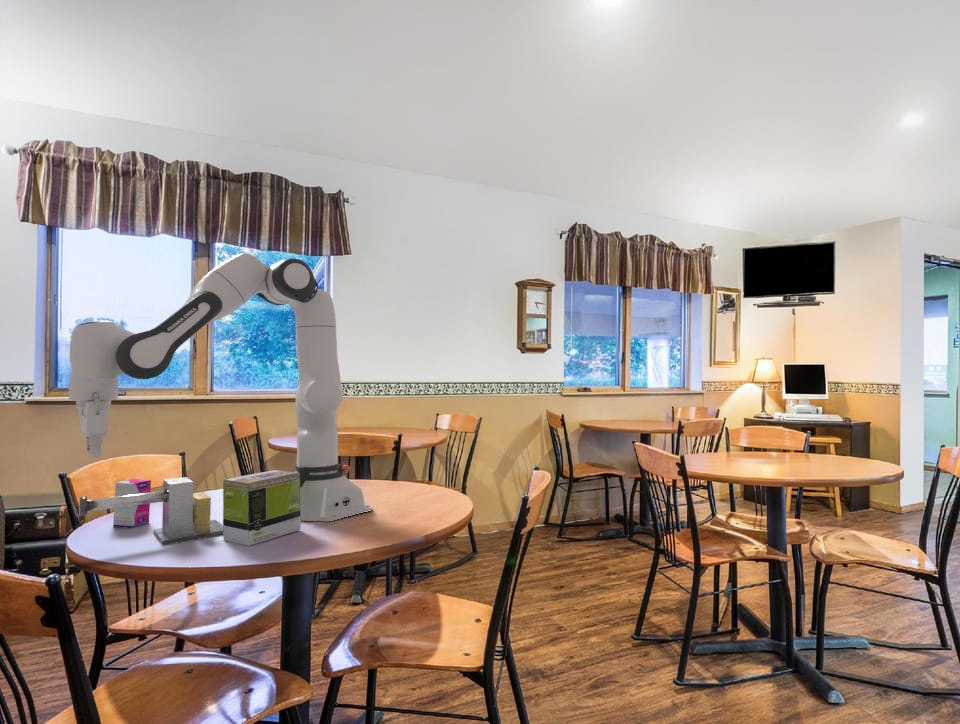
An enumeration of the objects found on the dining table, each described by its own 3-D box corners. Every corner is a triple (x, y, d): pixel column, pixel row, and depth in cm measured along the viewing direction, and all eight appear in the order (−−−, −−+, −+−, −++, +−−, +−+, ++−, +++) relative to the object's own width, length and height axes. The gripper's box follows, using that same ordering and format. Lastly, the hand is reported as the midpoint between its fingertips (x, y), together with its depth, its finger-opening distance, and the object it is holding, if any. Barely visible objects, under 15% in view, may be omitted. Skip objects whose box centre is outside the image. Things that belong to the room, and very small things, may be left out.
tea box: (275, 525, 136) (276, 468, 136) (301, 531, 131) (302, 472, 131) (221, 540, 123) (222, 477, 123) (247, 547, 118) (249, 481, 118)
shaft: (176, 501, 128) (177, 484, 128) (180, 504, 125) (180, 487, 125) (78, 514, 116) (79, 495, 116) (79, 517, 113) (80, 499, 113)
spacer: (202, 523, 133) (202, 492, 134) (210, 530, 127) (210, 497, 128) (189, 525, 132) (189, 493, 132) (196, 532, 125) (197, 499, 126)
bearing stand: (215, 523, 137) (216, 472, 138) (228, 533, 128) (229, 479, 129) (153, 533, 128) (154, 479, 129) (162, 545, 119) (163, 486, 120)
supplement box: (131, 528, 133) (133, 483, 133) (112, 527, 134) (113, 482, 134) (150, 522, 138) (151, 479, 139) (131, 521, 140) (132, 478, 140)
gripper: (116, 392, 111) (115, 458, 110) (106, 391, 126) (106, 448, 126) (79, 393, 107) (78, 461, 106) (73, 392, 122) (73, 451, 122)
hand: (93, 454), depth 116 cm, fingers open, 8 cm apart
